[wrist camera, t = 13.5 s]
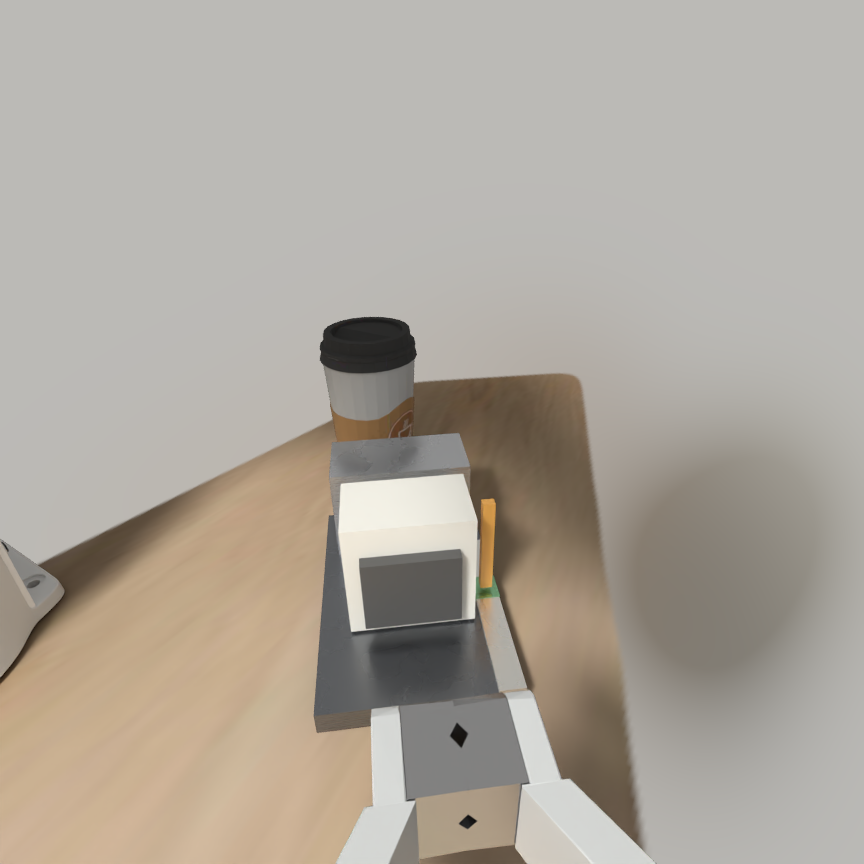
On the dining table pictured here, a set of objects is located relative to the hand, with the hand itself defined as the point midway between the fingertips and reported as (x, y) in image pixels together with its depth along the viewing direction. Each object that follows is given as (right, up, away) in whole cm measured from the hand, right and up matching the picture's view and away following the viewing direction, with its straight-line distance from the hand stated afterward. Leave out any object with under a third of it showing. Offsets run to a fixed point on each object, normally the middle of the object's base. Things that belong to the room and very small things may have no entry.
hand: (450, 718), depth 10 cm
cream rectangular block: (-1, -6, +27) cm, 27 cm away
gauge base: (-2, -7, +29) cm, 30 cm away
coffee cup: (-6, +1, +43) cm, 43 cm away
